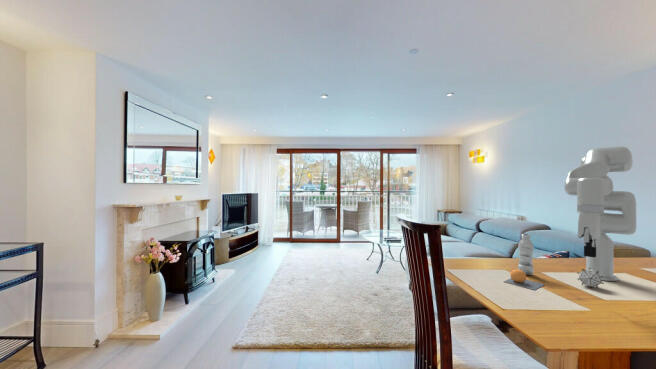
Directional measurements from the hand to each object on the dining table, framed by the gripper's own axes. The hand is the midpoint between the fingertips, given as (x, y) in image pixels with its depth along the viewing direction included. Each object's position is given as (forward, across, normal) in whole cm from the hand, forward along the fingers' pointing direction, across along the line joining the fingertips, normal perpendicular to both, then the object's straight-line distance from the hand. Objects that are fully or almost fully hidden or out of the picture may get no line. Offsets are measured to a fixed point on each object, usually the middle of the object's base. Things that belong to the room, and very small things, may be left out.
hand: (590, 256), depth 105 cm
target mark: (+17, 0, -22) cm, 28 cm away
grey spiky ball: (+17, -20, -4) cm, 27 cm away
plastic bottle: (+17, -16, -27) cm, 36 cm away
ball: (+14, +1, -24) cm, 28 cm away
